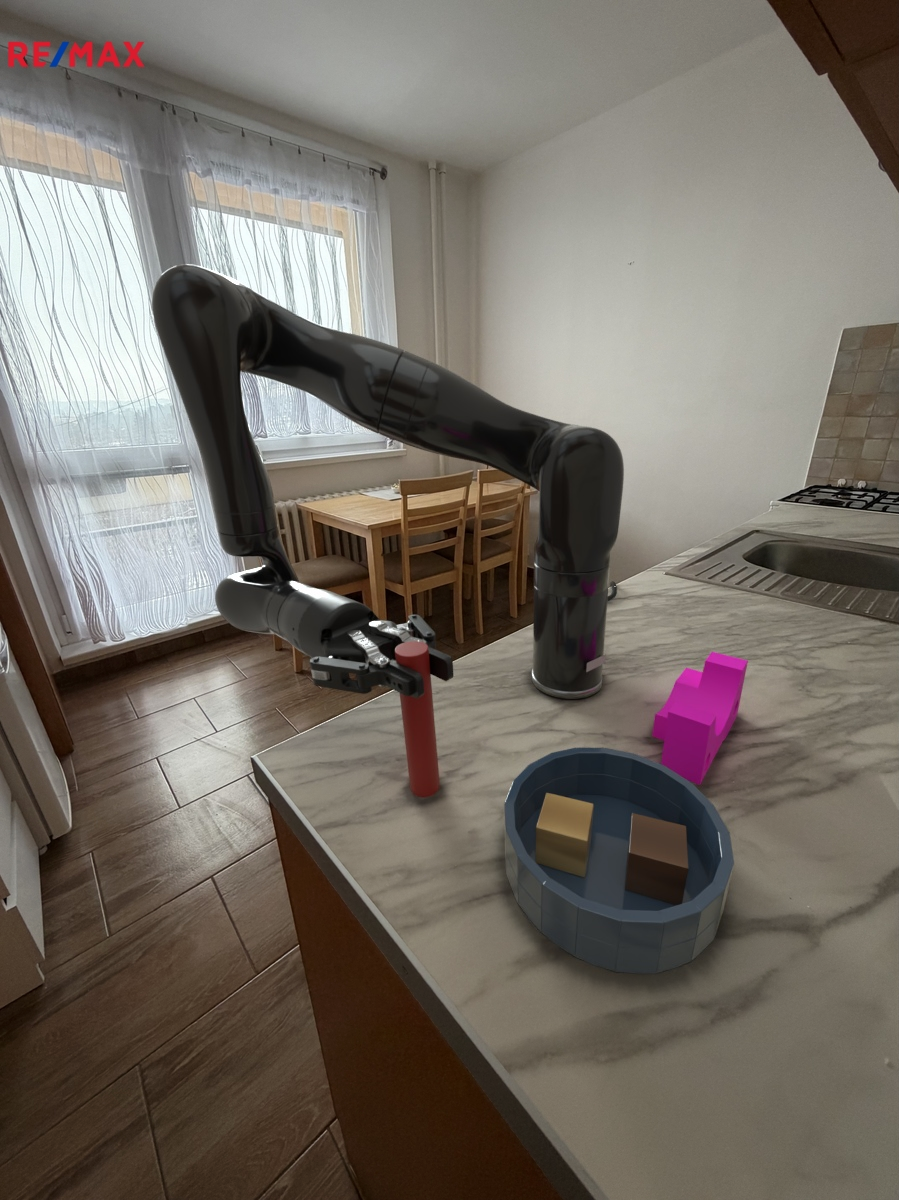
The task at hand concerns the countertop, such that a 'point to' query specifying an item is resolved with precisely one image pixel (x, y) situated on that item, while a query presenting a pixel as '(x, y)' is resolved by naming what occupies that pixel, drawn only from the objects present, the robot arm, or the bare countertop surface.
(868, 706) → the countertop surface
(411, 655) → the stirring stick
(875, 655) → the countertop surface
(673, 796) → the bowl
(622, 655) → the countertop surface
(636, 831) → the walnut cube
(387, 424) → the robot arm
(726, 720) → the toy block
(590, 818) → the birch cube
